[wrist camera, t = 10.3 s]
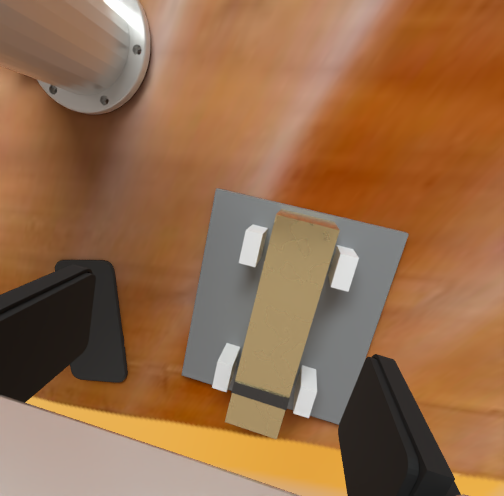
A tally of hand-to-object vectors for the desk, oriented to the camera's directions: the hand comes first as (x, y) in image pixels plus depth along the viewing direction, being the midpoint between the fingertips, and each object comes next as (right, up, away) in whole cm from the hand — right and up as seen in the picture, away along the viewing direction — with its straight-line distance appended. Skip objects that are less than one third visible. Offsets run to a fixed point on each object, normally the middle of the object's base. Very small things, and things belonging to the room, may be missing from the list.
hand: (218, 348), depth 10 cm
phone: (-18, -5, +27) cm, 33 cm away
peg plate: (+4, -3, +22) cm, 23 cm away
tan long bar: (+4, -3, +21) cm, 22 cm away
